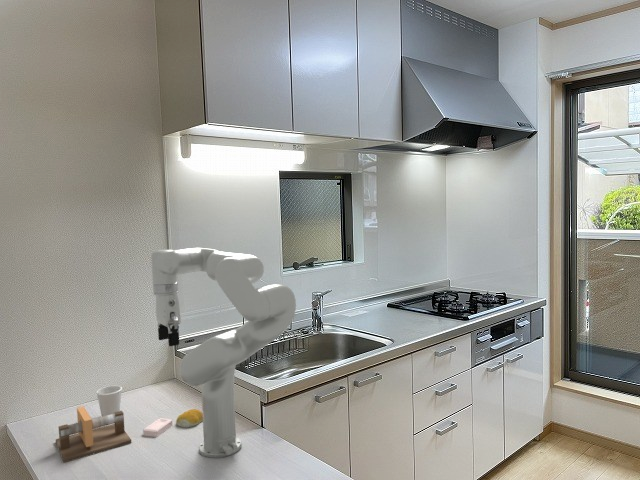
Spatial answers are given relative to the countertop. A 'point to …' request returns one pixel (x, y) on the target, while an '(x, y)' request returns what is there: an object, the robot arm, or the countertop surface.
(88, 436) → the collar
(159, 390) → the countertop surface
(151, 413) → the countertop surface
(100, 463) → the countertop surface
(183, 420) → the bread roll
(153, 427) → the soap bar
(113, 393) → the dixie cup
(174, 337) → the robot arm
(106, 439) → the pipe stand
